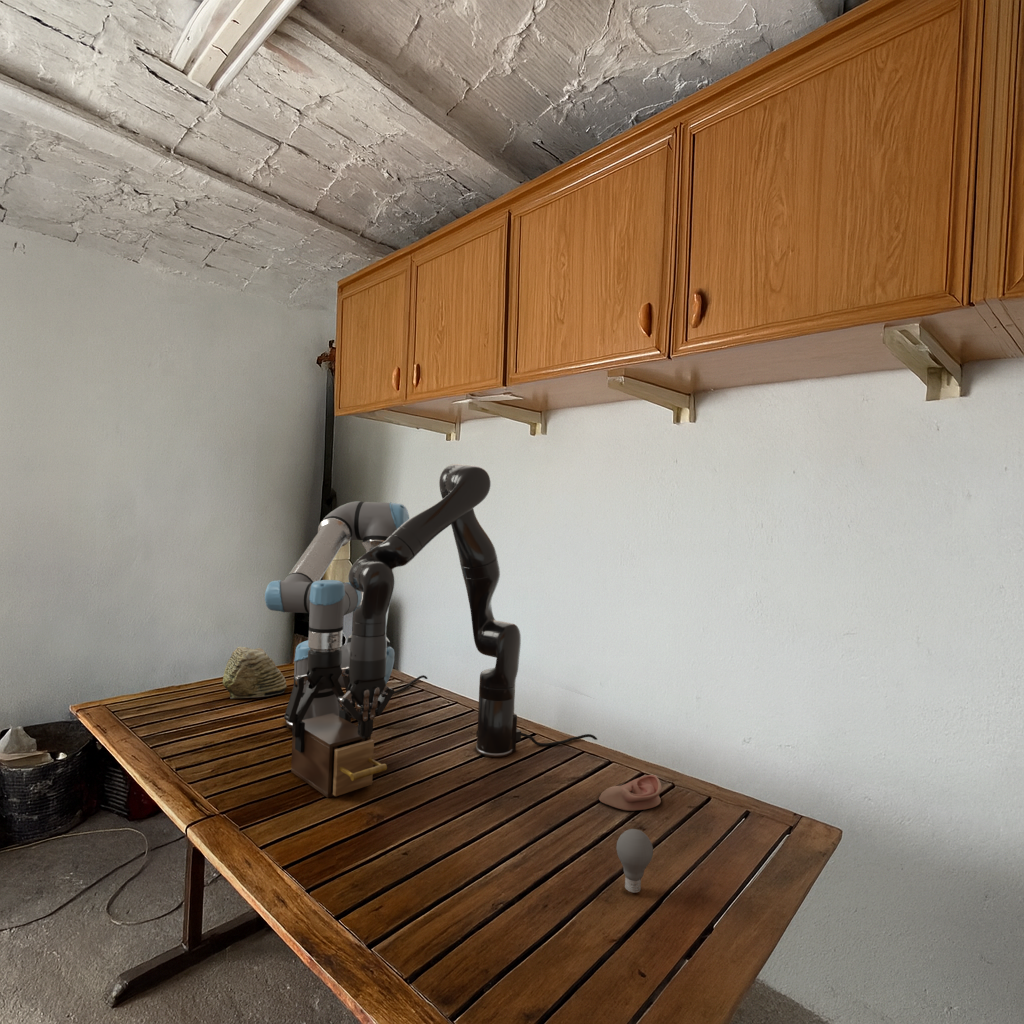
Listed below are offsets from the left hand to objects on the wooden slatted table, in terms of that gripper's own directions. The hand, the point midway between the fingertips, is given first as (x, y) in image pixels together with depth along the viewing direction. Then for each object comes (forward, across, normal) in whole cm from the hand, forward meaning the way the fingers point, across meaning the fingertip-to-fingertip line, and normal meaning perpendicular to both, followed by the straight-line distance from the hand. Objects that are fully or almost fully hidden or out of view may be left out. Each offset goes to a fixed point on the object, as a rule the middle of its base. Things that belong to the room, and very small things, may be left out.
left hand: (321, 744), depth 146 cm
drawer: (+5, 0, -10) cm, 11 cm away
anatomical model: (+6, +44, -55) cm, 71 cm away
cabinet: (+6, 0, -4) cm, 8 cm away
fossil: (+6, +12, +63) cm, 64 cm away
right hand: (-7, 0, -18) cm, 19 cm away
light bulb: (+6, +17, -74) cm, 76 cm away
